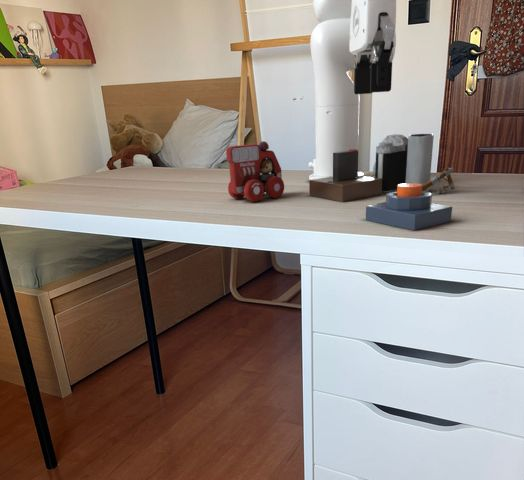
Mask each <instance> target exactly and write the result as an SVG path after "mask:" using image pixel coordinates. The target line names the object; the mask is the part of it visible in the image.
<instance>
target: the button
mask: <svg viewBox="0 0 524 480" xmlns="http://www.w3.org/2000/svg"><path fill="white" fill-rule="evenodd" d="M396 191H397V196H402V197H414V196H421V193H422V184H418V183H403V184H399V185H397V190H396Z"/></svg>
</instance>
